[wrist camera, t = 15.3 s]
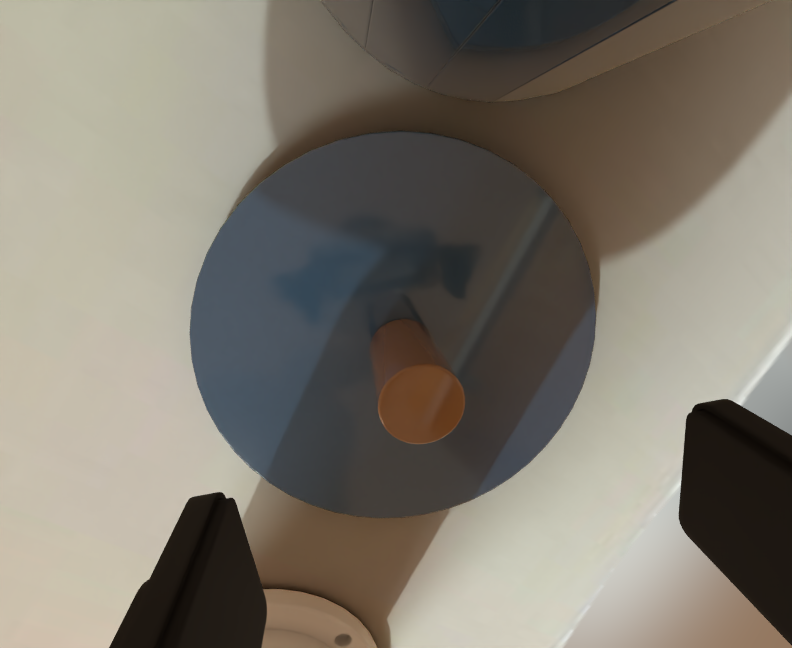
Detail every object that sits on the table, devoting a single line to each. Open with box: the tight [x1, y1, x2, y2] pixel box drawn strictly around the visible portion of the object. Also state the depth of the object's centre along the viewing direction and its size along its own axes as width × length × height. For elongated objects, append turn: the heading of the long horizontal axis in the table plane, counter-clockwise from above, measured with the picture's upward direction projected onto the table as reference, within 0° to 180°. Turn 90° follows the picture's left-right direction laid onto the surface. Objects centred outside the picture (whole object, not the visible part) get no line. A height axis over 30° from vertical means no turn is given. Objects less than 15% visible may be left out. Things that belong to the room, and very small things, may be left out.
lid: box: [190, 131, 596, 518], centre depth 17 cm, size 17×17×6 cm
